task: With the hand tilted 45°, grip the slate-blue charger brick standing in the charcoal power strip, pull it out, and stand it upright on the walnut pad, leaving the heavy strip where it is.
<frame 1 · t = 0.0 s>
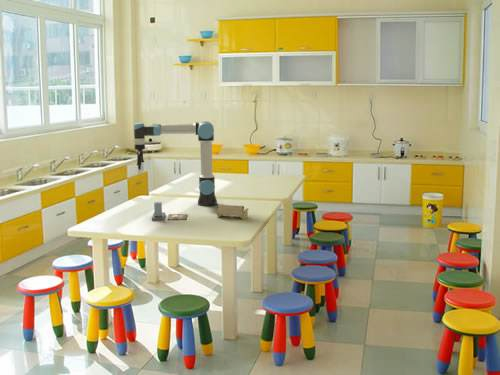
hand: (140, 172, 484), 28 cm above the table, tool pointing down, fingers open, 13 cm apart
charger brick: (158, 219, 452), resting on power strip
walnut pad: (177, 218, 456), on the table
toy sofa: (232, 218, 457), on the table
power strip: (158, 219, 456), on the table
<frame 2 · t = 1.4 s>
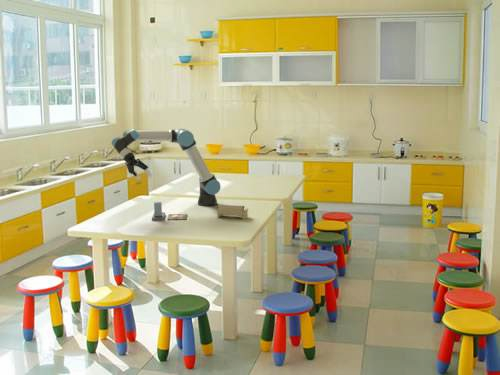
hand: (145, 177, 457), 28 cm above the table, tool tilted 45°, fingers open, 13 cm apart
nothing on the table moved.
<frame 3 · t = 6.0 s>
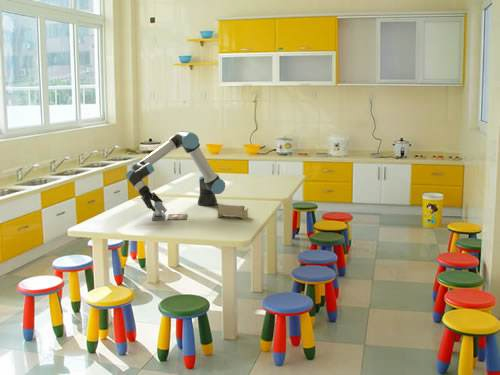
hand: (162, 212, 449), 5 cm above the table, tool tilted 45°, fingers open, 9 cm apart
charger brick: (158, 218, 453), resting on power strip, touching gripper
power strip: (158, 219, 456), on the table, touching charger brick
everything else where it was.
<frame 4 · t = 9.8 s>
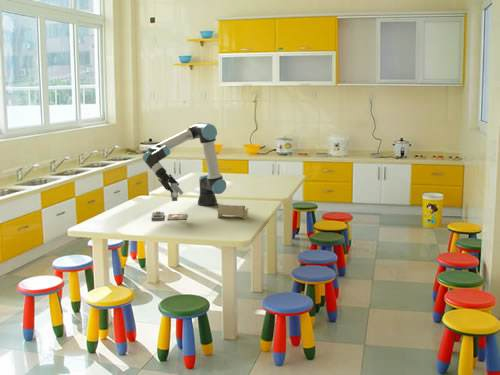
hand: (179, 194, 451), 17 cm above the table, tool tilted 45°, fingers closed on charger brick, 7 cm apart
charger brick: (174, 200, 454), point 13 cm above the table, touching gripper
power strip: (157, 219, 456), on the table
everything else where it was.
when the fingers open (6 cm above the table, at t = 13.0 s): charger brick stays where it is, resting on walnut pad.
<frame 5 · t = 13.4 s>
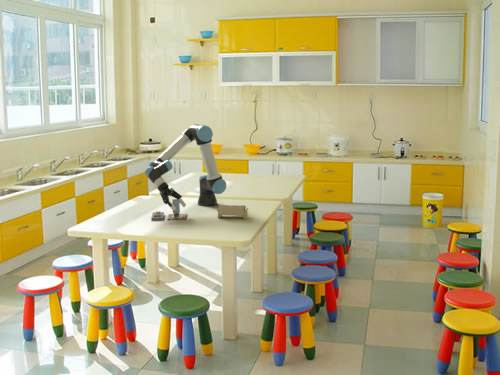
hand: (179, 207, 454), 8 cm above the table, tool tilted 45°, fingers open, 13 cm apart
charger brick: (176, 216, 457), point 1 cm above the table, touching walnut pad
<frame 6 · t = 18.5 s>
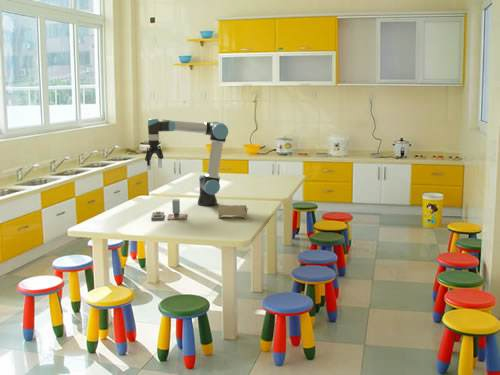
hand: (154, 168, 475), 32 cm above the table, tool pointing down, fingers open, 13 cm apart
at the end: charger brick inside the target area on the walnut pad (0.9 cm from its centre), point 1.3 cm above the walnut pad's base; charger brick tilted 0°; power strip moved 1.0 cm from its start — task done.
